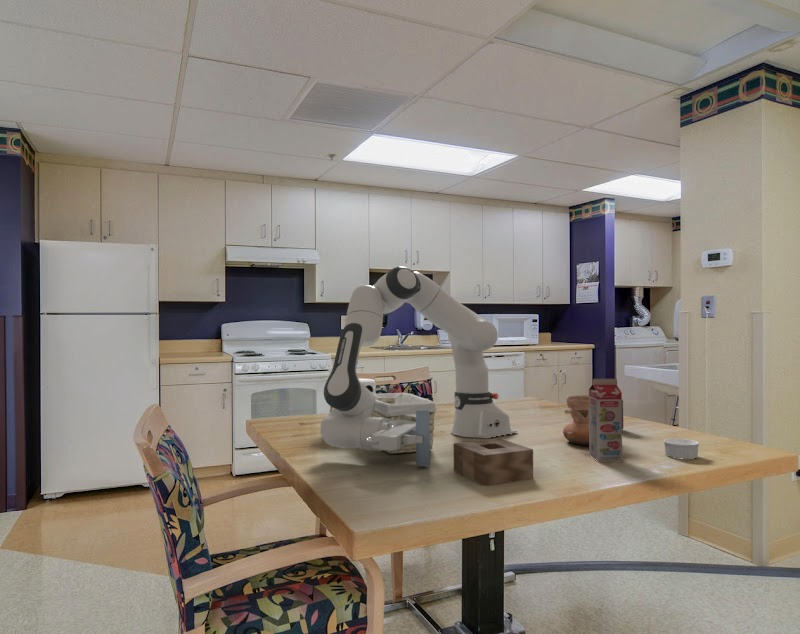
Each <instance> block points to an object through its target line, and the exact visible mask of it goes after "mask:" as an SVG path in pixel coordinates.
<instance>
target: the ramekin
mask: <svg viewBox="0 0 800 634" xmlns="http://www.w3.org/2000/svg"><path fill="white" fill-rule="evenodd" d="M663 444H664V451H665V452H664V453H665V456H667V455H668V456H671V457H675V458H683V459H692V460H694V459H693V458H696V459H697V458H698V456H699V446H700V442H699V441H697V440H694V439H687V438H680V437H679V438H673V437H671V438H665V439H663ZM668 456H667V457H668ZM671 457H670V458H671ZM675 458H674V459H675Z"/></svg>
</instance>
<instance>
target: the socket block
mask: <svg viewBox="0 0 800 634" xmlns="http://www.w3.org/2000/svg"><path fill="white" fill-rule="evenodd" d="M453 472H455V473H457V474H459V475H461V476H462V477H463V476H464V477H465V478H467V479H469V478H470V479H469V480H471V479H472V481H473V480H474V481H473V482H475V481H476V483H477V482H478V483H477V484H479V483H480V484H479V485H481V484H482V485H481V486H484V485H486V486H491V485H490V484H493V485H497V484H496V483H499V484H505V483H504V482H506V483H510V482H509V481H513V482H517V481H516V480H519V481H524V479H526V480H531V479H530V478H533V479H534V449H533V448H529V447H527V446H524V445H521V444H518V443H515V442H512V441H509V440H505V439H503V438H498V437H497V438H488V439H483V440H472V441H463V442H455V443H453Z"/></svg>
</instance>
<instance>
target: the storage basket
mask: <svg viewBox="0 0 800 634" xmlns="http://www.w3.org/2000/svg"><path fill="white" fill-rule="evenodd" d="M373 395H374V398H375V408H374V412H373V415H372V417H382V418H385V417H393V418H394V420H405V421H413V422H416V410H418V409H427V410H430V451H431V450H433V444H434V439H433V438H434V430H435V425H434V424H435V413H436V412H437V407H436V403H435V402H434V401H432V400H430V399H427V398H424V397H421V396H419V395H415V394H413V393H412V394H411V393H408V392H407V393H406V392H393V393H392V392H389V393H387V392H386V393H376V394H373ZM389 402H393V403H389ZM384 452H386V453H388V454H393V455H394V454H405V453H416V443H412V444H406V445H404V446H403V447H401V448H399V449H398V450H395V451H387V450H384Z"/></svg>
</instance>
